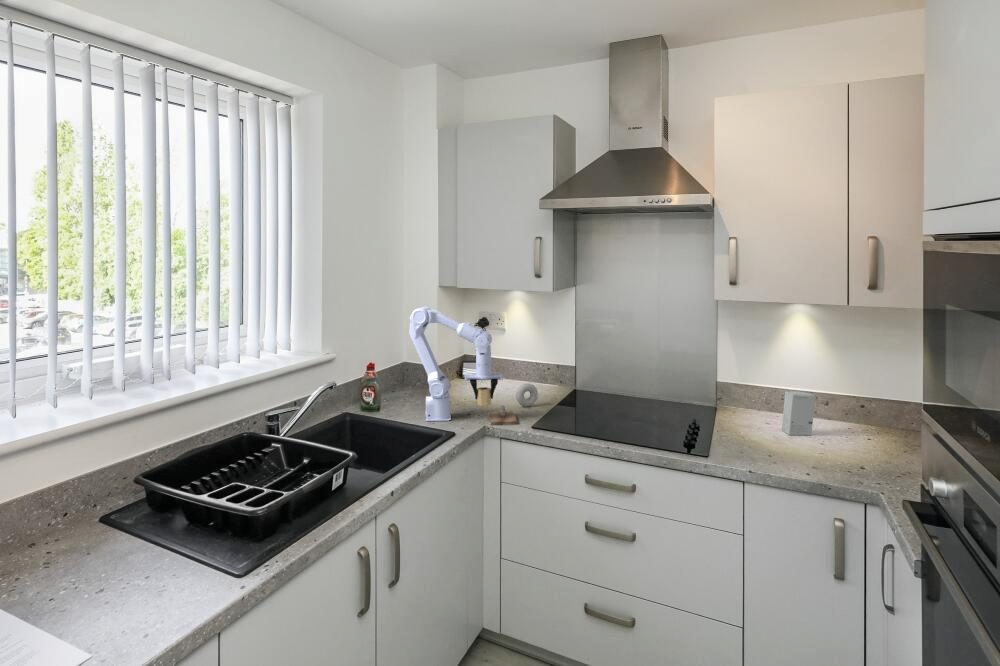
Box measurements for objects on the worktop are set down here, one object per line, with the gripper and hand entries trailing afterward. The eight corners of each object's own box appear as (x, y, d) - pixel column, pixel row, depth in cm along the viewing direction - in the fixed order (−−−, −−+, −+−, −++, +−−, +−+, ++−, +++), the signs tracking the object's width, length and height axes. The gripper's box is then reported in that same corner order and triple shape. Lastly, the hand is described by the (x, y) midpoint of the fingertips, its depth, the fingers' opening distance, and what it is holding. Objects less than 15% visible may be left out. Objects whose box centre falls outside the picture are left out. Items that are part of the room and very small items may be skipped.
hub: (477, 405, 212) (477, 390, 211) (476, 402, 217) (476, 387, 216) (491, 405, 212) (491, 390, 212) (490, 401, 218) (490, 386, 217)
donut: (535, 404, 239) (535, 381, 237) (539, 406, 236) (539, 383, 234) (514, 406, 235) (514, 383, 233) (517, 408, 232) (518, 385, 230)
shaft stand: (490, 425, 210) (490, 410, 209) (488, 415, 222) (488, 401, 222) (517, 424, 211) (517, 410, 210) (513, 414, 223) (513, 401, 223)
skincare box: (789, 435, 198) (792, 394, 196) (780, 430, 204) (783, 390, 202) (812, 435, 198) (816, 395, 196) (803, 430, 204) (807, 390, 202)
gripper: (464, 366, 208) (465, 401, 210) (503, 365, 209) (503, 400, 211) (464, 362, 215) (464, 396, 217) (501, 361, 216) (502, 395, 218)
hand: (483, 398), depth 215 cm, fingers closed on hub, 5 cm apart
